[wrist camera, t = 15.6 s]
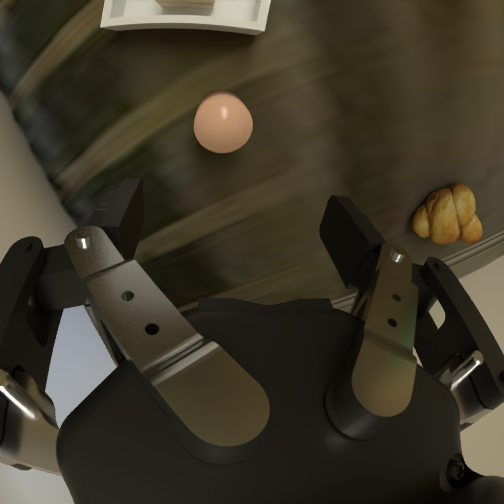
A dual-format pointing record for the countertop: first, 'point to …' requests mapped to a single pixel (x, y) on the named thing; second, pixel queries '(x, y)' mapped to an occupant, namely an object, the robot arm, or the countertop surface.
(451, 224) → the bread roll
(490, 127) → the countertop surface
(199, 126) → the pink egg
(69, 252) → the robot arm
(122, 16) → the tote
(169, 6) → the birch cube
